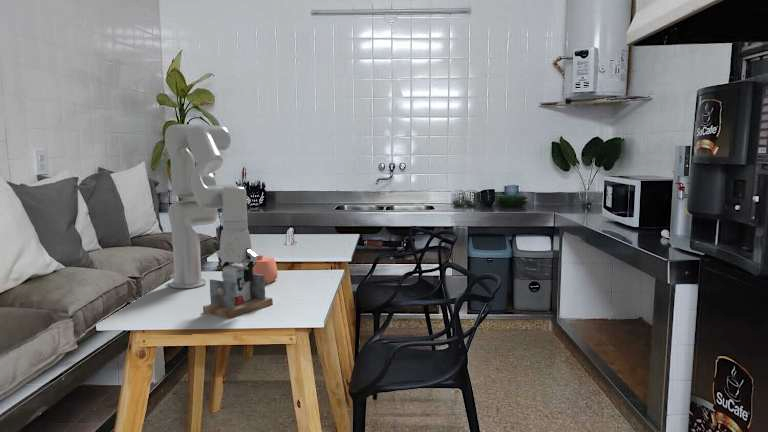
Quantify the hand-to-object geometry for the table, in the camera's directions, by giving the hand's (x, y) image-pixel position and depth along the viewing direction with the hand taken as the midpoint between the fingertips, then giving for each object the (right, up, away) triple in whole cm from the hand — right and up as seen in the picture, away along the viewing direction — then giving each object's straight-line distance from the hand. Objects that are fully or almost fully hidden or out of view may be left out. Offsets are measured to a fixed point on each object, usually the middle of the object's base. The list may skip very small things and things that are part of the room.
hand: (237, 279), depth 181 cm
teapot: (-1, -5, +37) cm, 38 cm away
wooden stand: (0, -9, +1) cm, 9 cm away
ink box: (0, -7, +1) cm, 8 cm away
